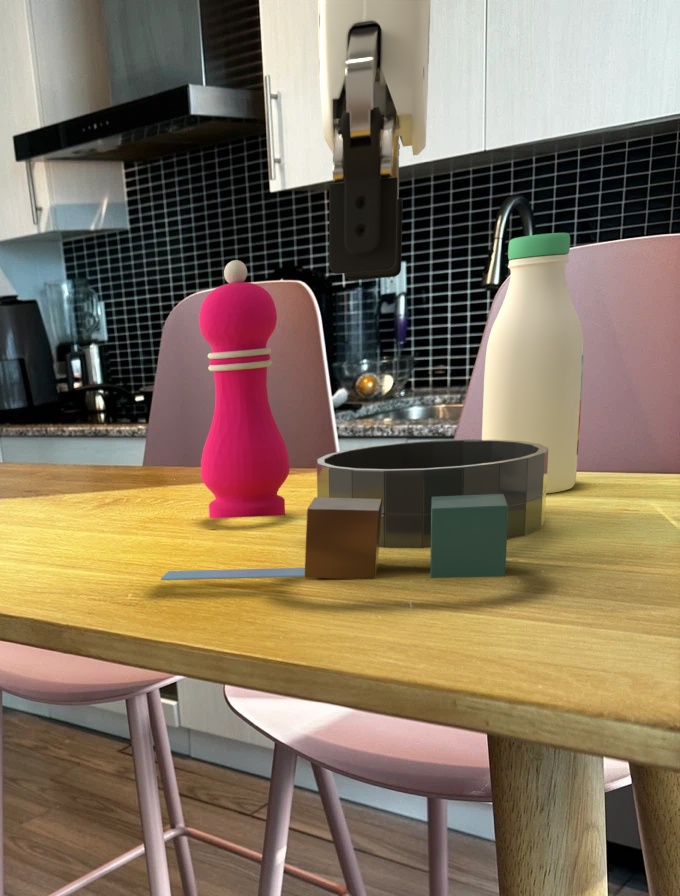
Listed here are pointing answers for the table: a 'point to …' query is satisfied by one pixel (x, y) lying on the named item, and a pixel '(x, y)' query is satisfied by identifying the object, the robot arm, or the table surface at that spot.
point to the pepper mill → (242, 402)
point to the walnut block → (342, 538)
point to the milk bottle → (537, 358)
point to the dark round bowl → (438, 482)
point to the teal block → (468, 536)
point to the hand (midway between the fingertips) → (367, 275)
